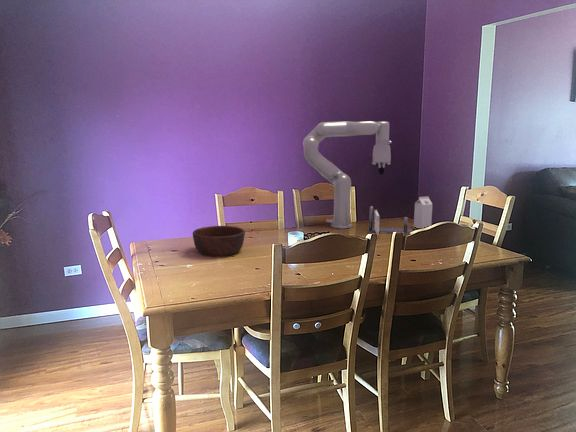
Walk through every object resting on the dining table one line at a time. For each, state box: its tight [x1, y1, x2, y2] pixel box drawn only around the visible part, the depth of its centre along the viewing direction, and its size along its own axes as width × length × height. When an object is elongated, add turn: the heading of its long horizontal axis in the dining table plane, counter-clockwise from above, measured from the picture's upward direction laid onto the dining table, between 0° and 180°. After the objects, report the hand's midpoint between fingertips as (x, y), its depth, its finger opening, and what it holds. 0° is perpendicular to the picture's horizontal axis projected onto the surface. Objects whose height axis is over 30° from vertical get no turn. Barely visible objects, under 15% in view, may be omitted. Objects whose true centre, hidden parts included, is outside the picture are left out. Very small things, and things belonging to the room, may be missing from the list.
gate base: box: [367, 205, 414, 235], centre depth 286 cm, size 25×9×14 cm, turn 79°
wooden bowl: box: [192, 225, 245, 258], centre depth 245 cm, size 25×25×10 cm
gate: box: [373, 209, 381, 236], centre depth 279 cm, size 19×2×10 cm, turn 175°
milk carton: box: [413, 196, 433, 229], centre depth 293 cm, size 7×7×19 cm
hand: (381, 174), depth 296 cm, fingers closed
